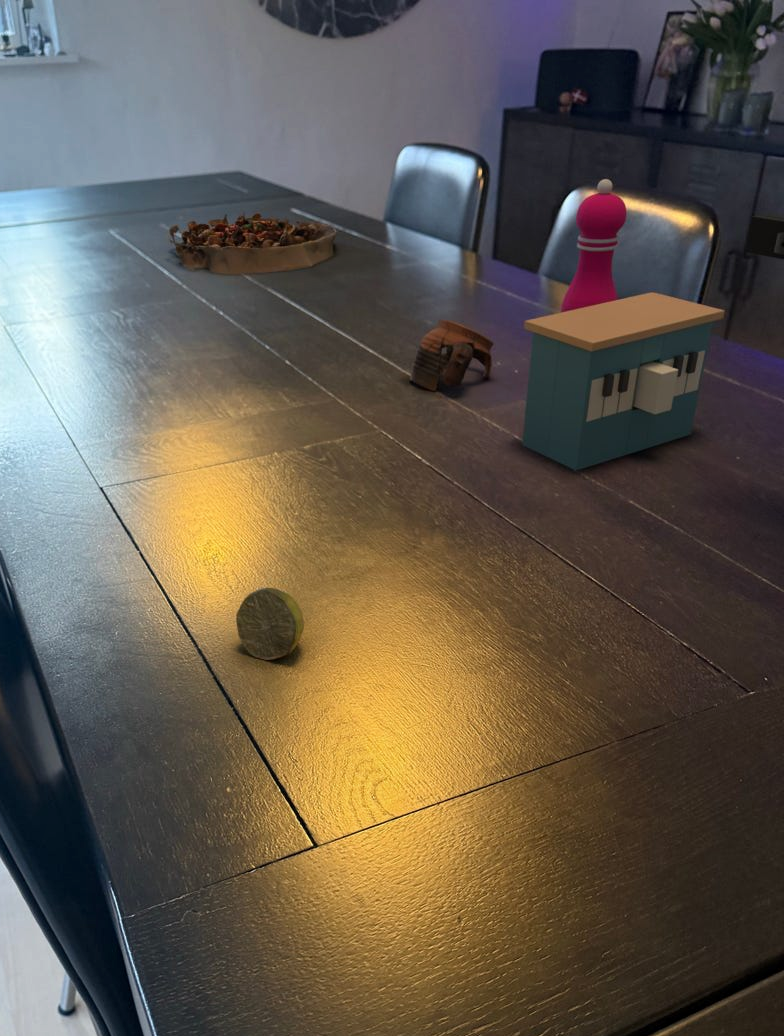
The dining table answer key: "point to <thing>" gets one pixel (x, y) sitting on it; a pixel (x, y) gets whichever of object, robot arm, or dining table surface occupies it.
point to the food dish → (253, 245)
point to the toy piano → (612, 376)
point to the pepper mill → (596, 249)
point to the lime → (269, 623)
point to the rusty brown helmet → (449, 355)
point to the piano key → (655, 387)
